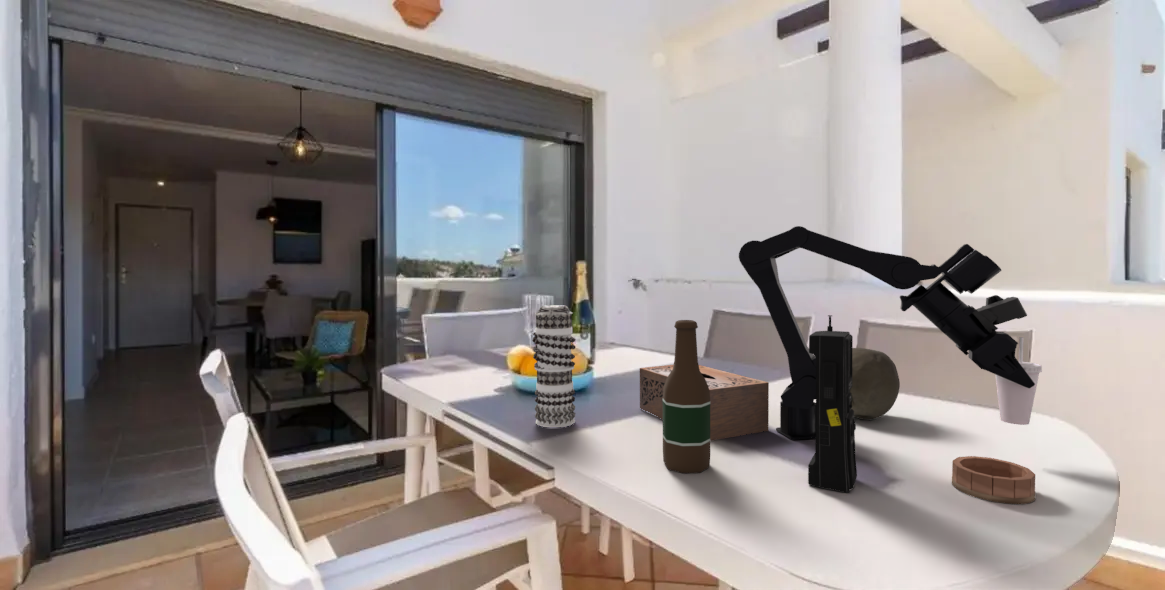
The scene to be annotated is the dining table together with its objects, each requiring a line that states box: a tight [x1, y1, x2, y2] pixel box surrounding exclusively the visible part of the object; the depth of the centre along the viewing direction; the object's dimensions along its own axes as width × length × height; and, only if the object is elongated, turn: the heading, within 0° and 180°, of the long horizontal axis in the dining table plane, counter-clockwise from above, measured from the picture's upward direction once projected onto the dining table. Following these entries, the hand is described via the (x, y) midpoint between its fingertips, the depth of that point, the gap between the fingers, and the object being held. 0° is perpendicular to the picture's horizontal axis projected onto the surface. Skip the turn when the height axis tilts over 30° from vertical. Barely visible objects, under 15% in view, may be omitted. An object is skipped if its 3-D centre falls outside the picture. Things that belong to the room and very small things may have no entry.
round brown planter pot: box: [951, 455, 1036, 505], centre depth 77 cm, size 10×10×3 cm
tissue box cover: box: [639, 364, 770, 442], centre depth 116 cm, size 26×14×10 cm, turn 25°
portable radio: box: [807, 314, 858, 494], centre depth 80 cm, size 8×6×25 cm
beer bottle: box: [662, 319, 711, 474], centre depth 88 cm, size 8×8×24 cm
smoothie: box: [994, 336, 1043, 426], centre depth 88 cm, size 6×6×14 cm
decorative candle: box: [531, 304, 576, 428], centre depth 114 cm, size 9×9×25 cm
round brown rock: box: [850, 347, 901, 421], centre depth 116 cm, size 14×14×15 cm
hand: (1026, 382), depth 88 cm, fingers closed on smoothie, 6 cm apart
